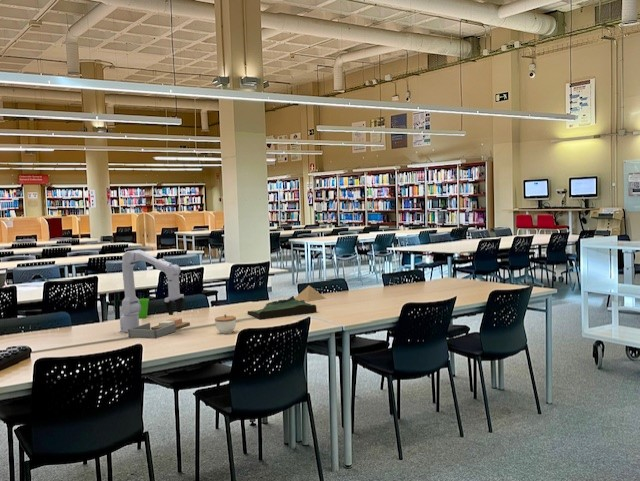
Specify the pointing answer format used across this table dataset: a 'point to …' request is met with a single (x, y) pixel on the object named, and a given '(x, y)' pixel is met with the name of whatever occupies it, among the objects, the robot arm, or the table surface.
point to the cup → (143, 308)
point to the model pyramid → (309, 295)
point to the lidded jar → (225, 324)
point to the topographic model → (283, 309)
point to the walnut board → (175, 326)
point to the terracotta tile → (176, 320)
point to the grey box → (150, 331)
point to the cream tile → (166, 323)
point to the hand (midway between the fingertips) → (175, 313)
